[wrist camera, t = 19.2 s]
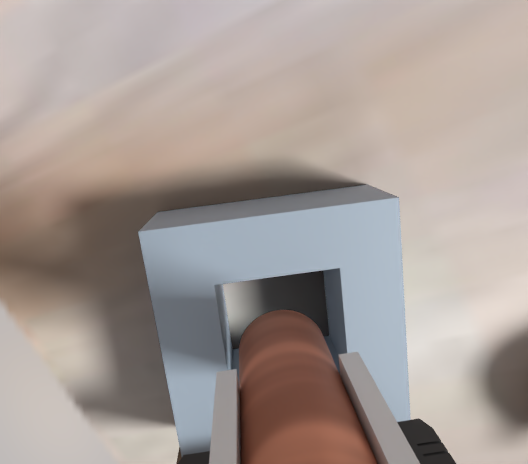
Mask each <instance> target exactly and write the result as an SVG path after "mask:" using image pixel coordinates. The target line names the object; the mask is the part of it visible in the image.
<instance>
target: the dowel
mask: <svg viewBox="0 0 528 464" xmlns="http://www.w3.org/2000/svg"><path fill="white" fill-rule="evenodd" d="M239 389H240V445H241V464H378V463H377V461H376V458H375V456H374V454H373V451H372V449H371V447H370V444H369V442H368V440H367V437H366V435H365V433H364V430H363V428H362V426H361V423H360V421H359V419H358V416H357V414H356V412H355V409H354V407H353V405H352V402H351V400H350V398H349V395H348V393H347V391H346V388H345V386H344V384H343V381H342V379H341V377H340V374H339V372H338V370H337V367H336V365H335V362H334V360H333V358H332V355H331V353H330V351H329V348H328V346H327V344H326V341H325V339H324V337H323V334H322V332H321V330H320V329H319V327H318V326H317V324H316V323H315V322H314V321H313V320H311V319H310V318H309V317H307V316H306V315H304V314H302V313H299V312H296V311H292V310H276V311H271V312H268V313H265V314H263V315H261V316H260V317H258V318H256V319H255V320H254V321H253V322H252V323H251V324H250V325H249V326H248V327H247V328H246V330H245V331H244V333H243V335H242V338H241V340H240V345H239Z"/></svg>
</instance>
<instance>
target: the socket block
mask: <svg viewBox="0 0 528 464" xmlns="http://www.w3.org/2000/svg"><path fill="white" fill-rule="evenodd" d="M138 234H139V239H140V244H141V249H142V254H143V260H144V265H145V270H146V275H147V280H148V285H149V291H150V296H151V301H152V306H153V311H154V316H155V322H156V327H157V332H158V337H159V342H160V347H161V353H162V358H163V363H164V368H165V373H166V378H167V384H168V389H169V394H170V399H171V404H172V409H173V415H174V420H175V425H176V430H177V435H178V440H179V446H180V451H181V456H182V457H183V455H186V454H193V453H200V452H207V451H210V446H211V433H212V421H213V409H214V397H215V385H216V373H217V372H219V371H226V370H233V369H237V376H238V382H239V349H232V342H231V336H230V329H229V323H228V316H227V310H226V303H225V296H224V290H223V284H226V283H234V282H241V281H248V280H256V279H263V278H270V277H277V276H285V275H292V274H299V273H307V272H314V271H321V270H323V274H324V285H325V295H326V305H327V316H328V326H329V336H324V339H325V341H326V344H327V346H328V348H329V351H330V353H331V355H332V358H333V360H334V362H335V365H336V367H337V370H338V372H339V374H340V366H339V355H338V354H345V353H352V352H358V353H359V354H360V356H361V358H362V360H363V362H364V364H365V365H366V367H367V369H368V371H369V373H370V374H371V376H372V378H373V380H374V382H375V383H376V385H377V387H378V389H379V391H380V392H381V394H382V396H383V398H384V400H385V401H386V403H387V405H388V407H389V409H390V410H391V412H392V414H393V416H394V418H395V419H396V421H397V422H400V421H407V420H410V401H409V382H408V362H407V343H406V324H405V305H404V285H403V266H402V247H401V227H400V208H399V197H397V196H394V195H392V194H389V193H387V192H384V191H382V190H380V189H377V188H375V187H372V186H370V185H360V186H352V187H345V188H337V189H329V190H322V191H314V192H307V193H299V194H291V195H284V196H276V197H268V198H261V199H253V200H245V201H238V202H230V203H222V204H215V205H207V206H199V207H192V208H184V209H177V210H169V211H161V212H157V213H156V214H155V215H154V216H153V217H152V218H151V219H150V220H149V221H148V222H147V223H146V224H145V225H144V226H143V227H142V228H141V229H140V230H139V231H138Z"/></svg>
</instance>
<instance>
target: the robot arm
mask: <svg viewBox="0 0 528 464" xmlns="http://www.w3.org/2000/svg"><path fill="white" fill-rule="evenodd" d="M338 355H339V366H340V377H341V379H342V381H343V384H344V386H345V388H346V391H347V393H348V395H349V398H350V400H351V402H352V405H353V407H354V409H355V412H356V414H357V416H358V419H359V421H360V423H361V426H362V428H363V430H364V433H365V435H366V437H367V440H368V442H369V444H370V447H371V449H372V451H373V454H374V456H375V458H376V461H377V463H378V464H456V463H455V461H454V460H453V458H452V457H451V455H450V454H449V453H448V451H447V449H446V448H445V446H444V445H443V443H441V440H440V439H439V437H438V436H437V434H436V433H435V431H434V429H433V428H432V427H430V426H429V425H427V424H426V423H425V422H423V421H422V420H420V419H414V420H407V421H400V422H397V421H396V419H395V418H394V416H393V414H392V412H391V410H390V409H389V407H388V405H387V403H386V401H385V400H384V398H383V396H382V394H381V392H380V391H379V389H378V387H377V385H376V383H375V382H374V380H373V378H372V376H371V374H370V373H369V371H368V369H367V367H366V365H365V364H364V362H363V360H362V358H361V356H360V354H359V353H358V352H352V353H345V354H338ZM178 464H241V445H240V389H239V382H238V376H237V369H233V370H226V371H219V372H217V373H216V385H215V397H214V409H213V421H212V433H211V446H210V451H207V452H200V453H193V454H186V455H183V457H182V458H181V460H180V461H179V463H178Z"/></svg>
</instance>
